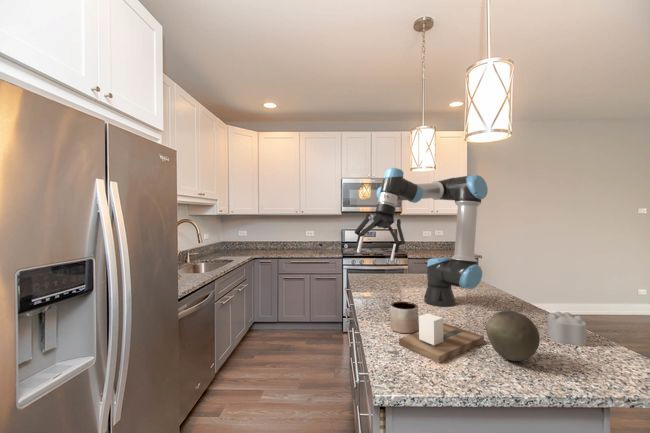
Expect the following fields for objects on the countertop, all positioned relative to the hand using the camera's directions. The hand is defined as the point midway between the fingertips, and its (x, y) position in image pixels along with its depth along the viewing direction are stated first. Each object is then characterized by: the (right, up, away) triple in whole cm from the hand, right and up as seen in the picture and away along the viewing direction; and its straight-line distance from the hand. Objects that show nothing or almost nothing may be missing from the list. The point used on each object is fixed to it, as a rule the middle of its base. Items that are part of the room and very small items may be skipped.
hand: (374, 256), depth 118 cm
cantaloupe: (+39, -29, -25) cm, 55 cm away
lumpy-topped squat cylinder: (+69, -29, -9) cm, 75 cm away
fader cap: (+17, -27, -16) cm, 35 cm away
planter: (+12, -29, +2) cm, 32 cm away
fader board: (+22, -29, -12) cm, 38 cm away
